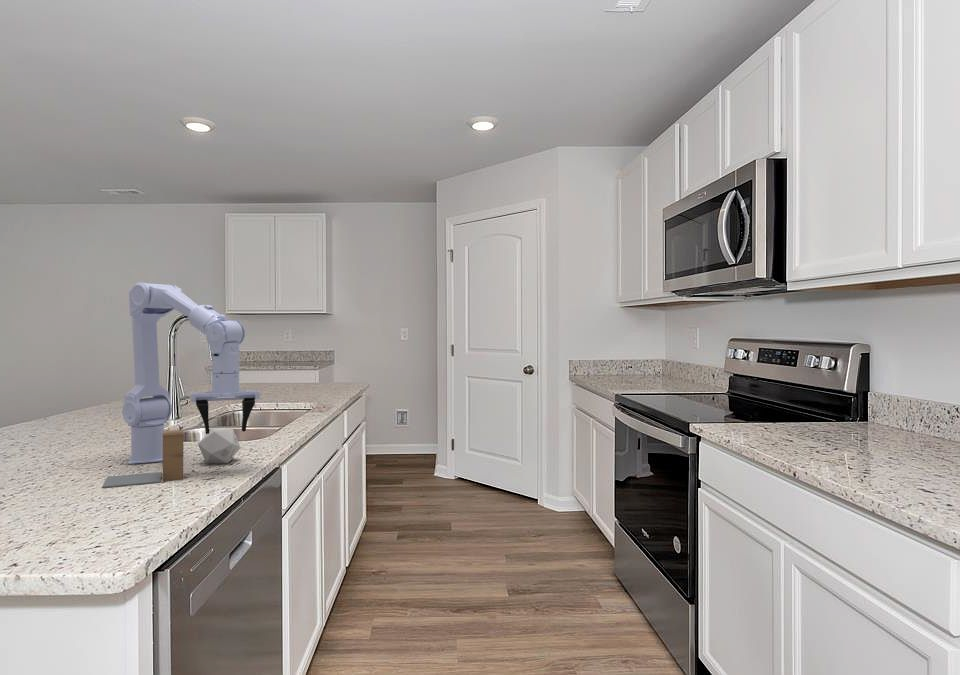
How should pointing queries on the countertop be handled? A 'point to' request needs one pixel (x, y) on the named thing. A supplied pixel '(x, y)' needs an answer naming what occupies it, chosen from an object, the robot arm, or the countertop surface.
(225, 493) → the countertop surface
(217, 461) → the die
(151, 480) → the mat
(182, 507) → the countertop surface
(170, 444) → the walnut block
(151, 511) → the countertop surface
